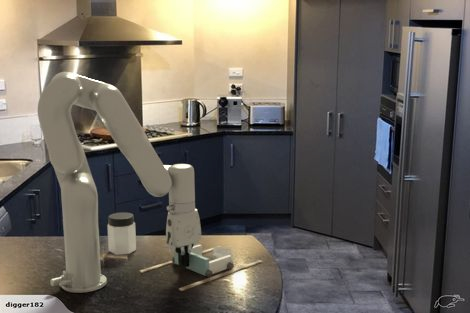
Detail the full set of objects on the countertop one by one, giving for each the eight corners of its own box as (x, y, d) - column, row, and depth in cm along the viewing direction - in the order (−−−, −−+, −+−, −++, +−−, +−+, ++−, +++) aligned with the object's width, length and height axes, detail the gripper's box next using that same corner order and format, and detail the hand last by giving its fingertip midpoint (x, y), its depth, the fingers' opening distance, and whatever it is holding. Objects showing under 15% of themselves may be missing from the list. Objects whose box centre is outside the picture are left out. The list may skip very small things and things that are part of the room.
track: (181, 290, 173) (181, 289, 173) (139, 271, 188) (139, 270, 187) (262, 262, 195) (262, 261, 195) (218, 247, 209) (218, 245, 209)
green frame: (207, 277, 182) (206, 260, 181) (171, 263, 194) (171, 247, 193) (233, 268, 189) (233, 252, 188) (197, 255, 201) (197, 239, 200)
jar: (140, 251, 206) (139, 216, 203) (118, 256, 201) (116, 221, 198) (126, 244, 212) (125, 210, 210) (105, 249, 207) (103, 215, 205)
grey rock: (228, 278, 191) (233, 263, 188) (208, 273, 191) (213, 258, 188) (229, 258, 200) (234, 244, 197) (210, 253, 199) (215, 239, 197)
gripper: (169, 214, 175) (171, 276, 178) (210, 204, 185) (211, 262, 188) (153, 209, 180) (156, 269, 184) (193, 199, 190) (195, 256, 194)
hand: (184, 265), depth 186 cm, fingers closed
